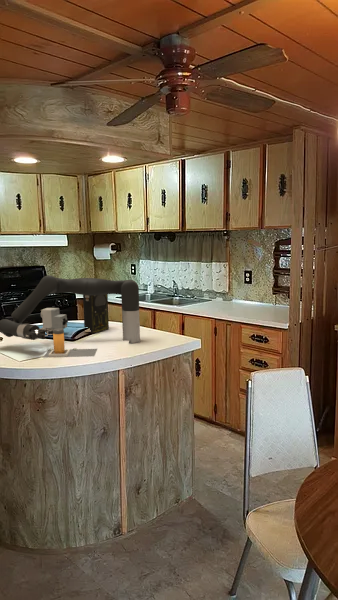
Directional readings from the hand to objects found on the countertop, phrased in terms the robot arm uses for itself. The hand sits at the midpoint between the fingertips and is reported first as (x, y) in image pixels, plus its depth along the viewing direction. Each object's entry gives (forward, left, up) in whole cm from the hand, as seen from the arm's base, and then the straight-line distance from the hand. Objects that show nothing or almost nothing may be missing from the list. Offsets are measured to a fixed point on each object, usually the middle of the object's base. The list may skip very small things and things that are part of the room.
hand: (51, 335), depth 222 cm
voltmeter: (-15, -54, -10) cm, 57 cm away
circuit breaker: (+8, -48, -11) cm, 50 cm away
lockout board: (-9, +1, -10) cm, 14 cm away
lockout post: (-4, +3, -9) cm, 10 cm away
